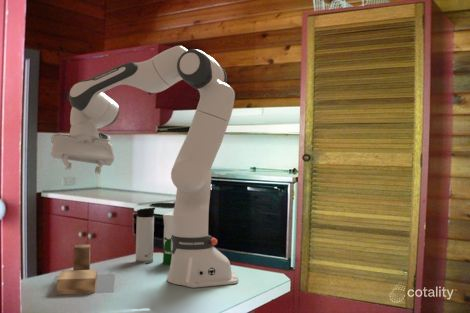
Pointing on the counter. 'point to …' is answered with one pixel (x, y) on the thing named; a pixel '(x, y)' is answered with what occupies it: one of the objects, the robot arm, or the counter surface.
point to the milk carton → (168, 237)
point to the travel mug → (145, 235)
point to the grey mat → (103, 285)
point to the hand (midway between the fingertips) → (83, 170)
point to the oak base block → (77, 281)
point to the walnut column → (81, 257)
